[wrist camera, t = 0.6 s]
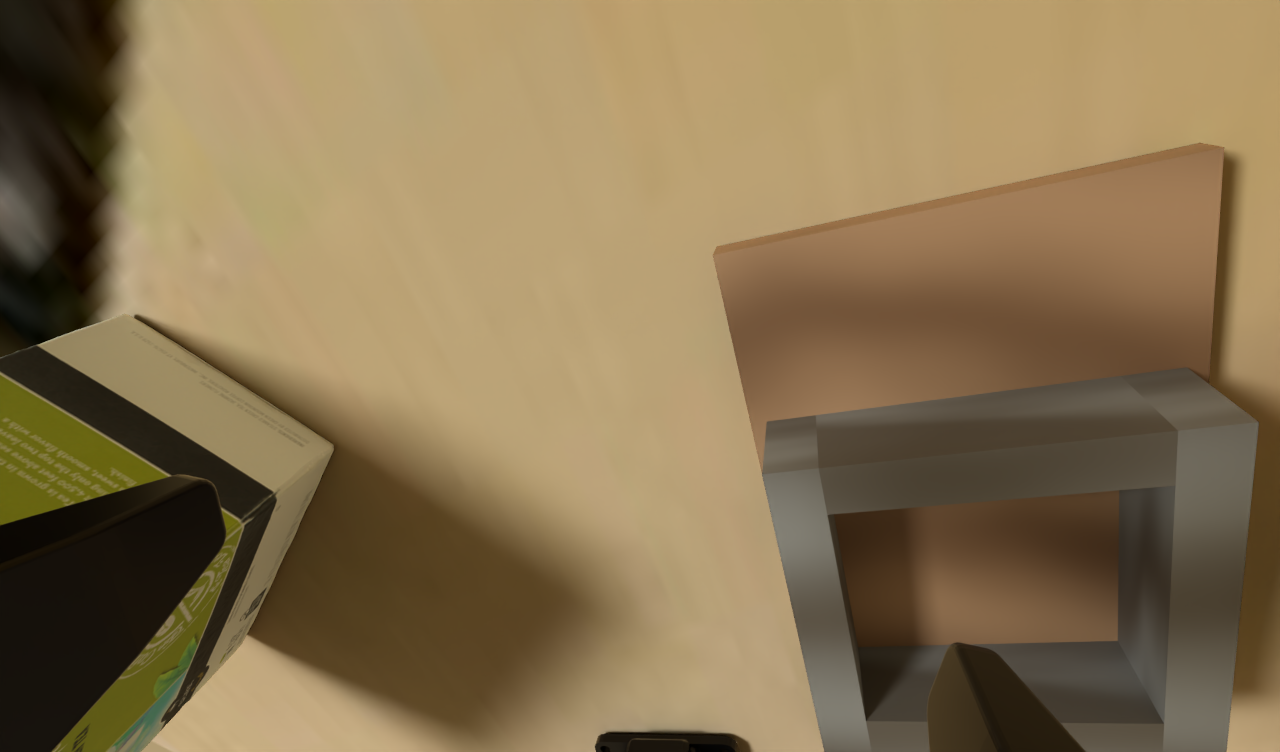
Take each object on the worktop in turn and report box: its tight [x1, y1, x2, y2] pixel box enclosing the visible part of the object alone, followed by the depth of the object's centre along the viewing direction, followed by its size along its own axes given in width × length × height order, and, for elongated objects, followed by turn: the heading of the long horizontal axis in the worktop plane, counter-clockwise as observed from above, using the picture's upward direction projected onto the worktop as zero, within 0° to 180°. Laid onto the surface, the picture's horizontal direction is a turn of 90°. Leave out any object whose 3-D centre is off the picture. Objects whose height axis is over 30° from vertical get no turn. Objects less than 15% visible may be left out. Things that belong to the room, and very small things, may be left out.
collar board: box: [713, 143, 1259, 752], centre depth 20 cm, size 22×12×4 cm, turn 15°
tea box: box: [0, 314, 334, 752], centre depth 23 cm, size 15×10×15 cm
